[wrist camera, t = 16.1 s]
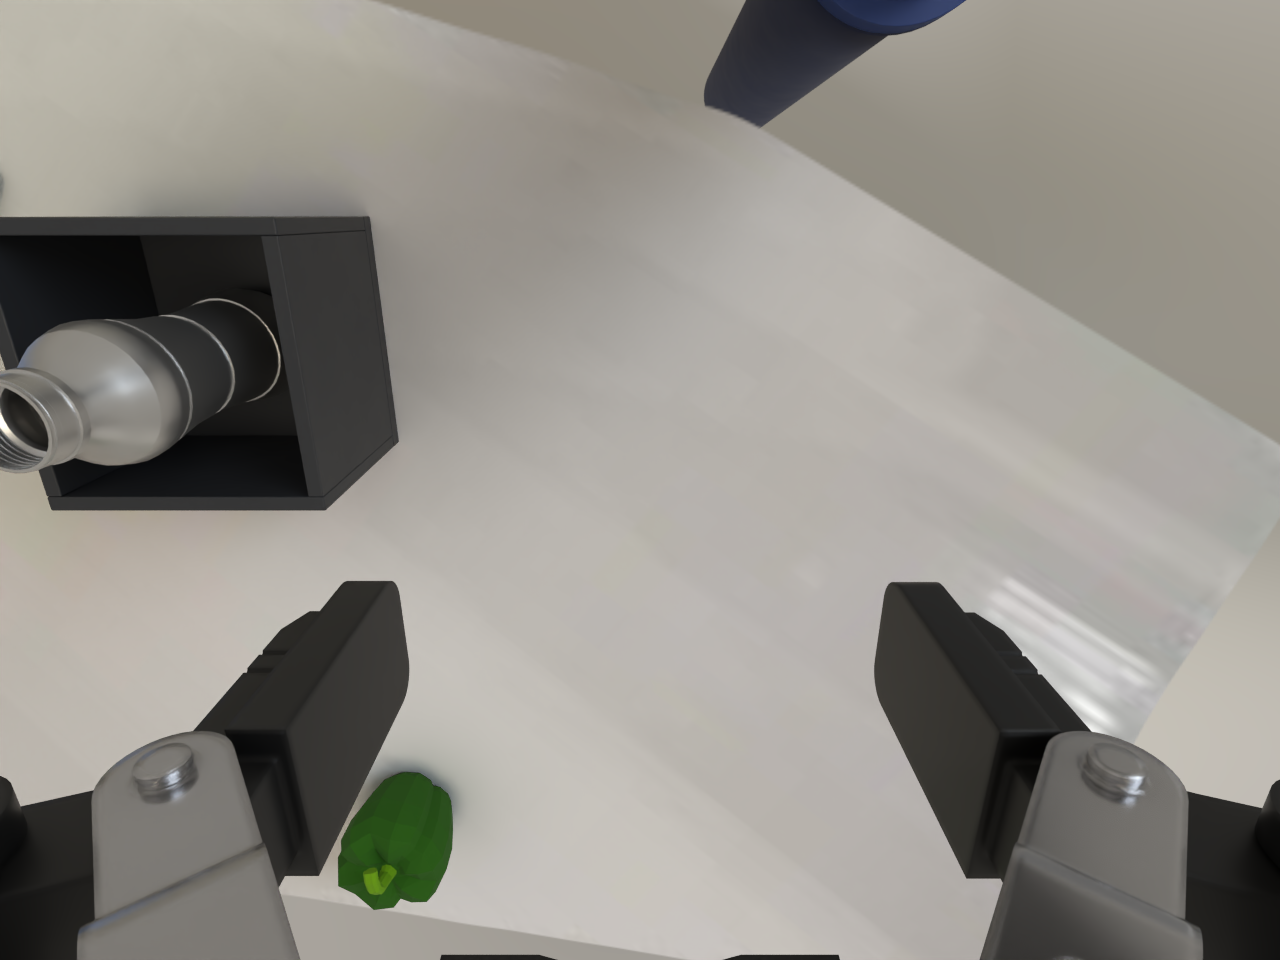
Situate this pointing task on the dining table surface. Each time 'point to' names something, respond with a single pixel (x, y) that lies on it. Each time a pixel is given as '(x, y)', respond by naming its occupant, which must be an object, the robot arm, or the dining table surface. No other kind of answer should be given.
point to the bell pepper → (398, 843)
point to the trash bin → (177, 278)
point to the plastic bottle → (137, 381)
